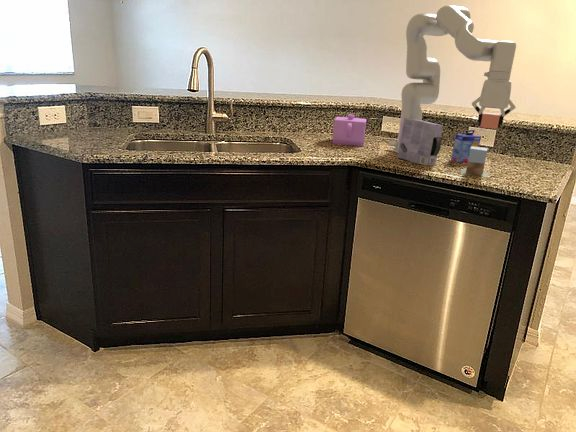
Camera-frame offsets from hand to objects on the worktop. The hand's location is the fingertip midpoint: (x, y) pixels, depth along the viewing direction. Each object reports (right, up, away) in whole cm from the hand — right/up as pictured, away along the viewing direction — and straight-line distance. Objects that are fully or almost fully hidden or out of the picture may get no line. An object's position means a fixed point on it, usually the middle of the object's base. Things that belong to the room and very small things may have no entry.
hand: (489, 125), depth 179 cm
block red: (0, -1, 0) cm, 1 cm away
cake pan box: (-22, -12, +22) cm, 33 cm away
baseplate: (-4, -19, +5) cm, 20 cm away
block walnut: (-4, -18, +4) cm, 19 cm away
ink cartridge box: (0, -11, +27) cm, 29 cm away
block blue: (-4, -13, +3) cm, 14 cm away
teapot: (-46, +2, +59) cm, 75 cm away
